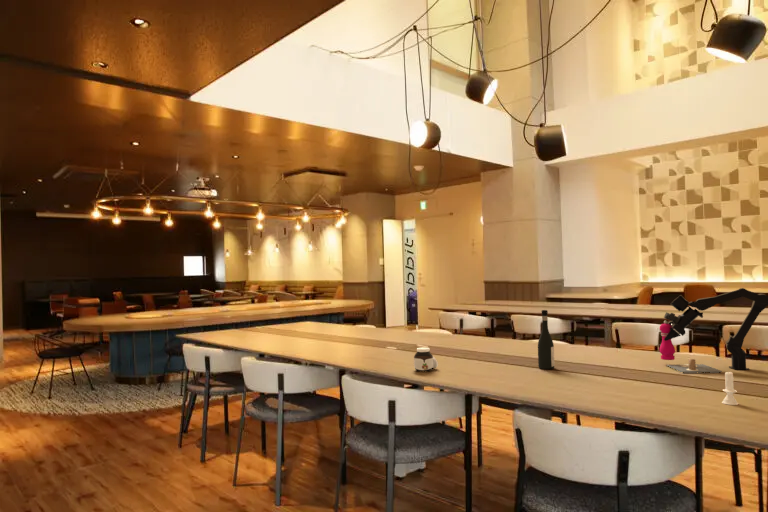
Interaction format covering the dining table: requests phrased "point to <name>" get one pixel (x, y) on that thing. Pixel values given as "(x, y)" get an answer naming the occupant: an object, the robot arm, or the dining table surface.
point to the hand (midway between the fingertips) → (663, 339)
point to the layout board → (700, 367)
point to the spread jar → (424, 360)
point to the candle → (729, 389)
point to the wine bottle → (545, 345)
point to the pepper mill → (666, 343)
